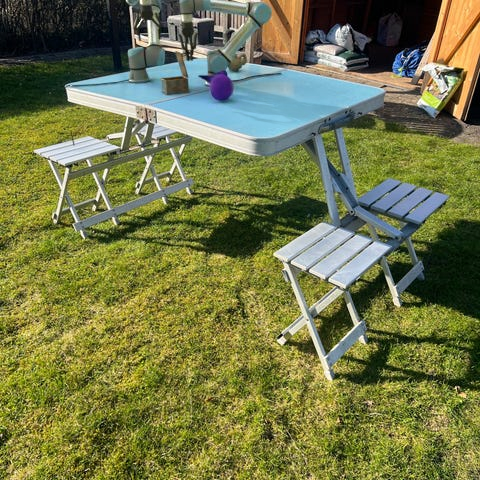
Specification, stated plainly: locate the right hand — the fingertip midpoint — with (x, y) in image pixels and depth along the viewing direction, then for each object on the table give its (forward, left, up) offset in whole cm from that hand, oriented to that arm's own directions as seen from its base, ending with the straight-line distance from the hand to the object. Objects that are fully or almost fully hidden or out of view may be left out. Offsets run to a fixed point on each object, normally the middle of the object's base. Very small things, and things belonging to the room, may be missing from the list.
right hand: (189, 60), depth 299 cm
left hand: (+15, -25, +12) cm, 32 cm away
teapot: (-65, -36, -19) cm, 77 cm away
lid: (+6, -2, -2) cm, 7 cm away
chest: (+11, -3, -19) cm, 22 cm away
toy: (+2, +33, -19) cm, 38 cm away
